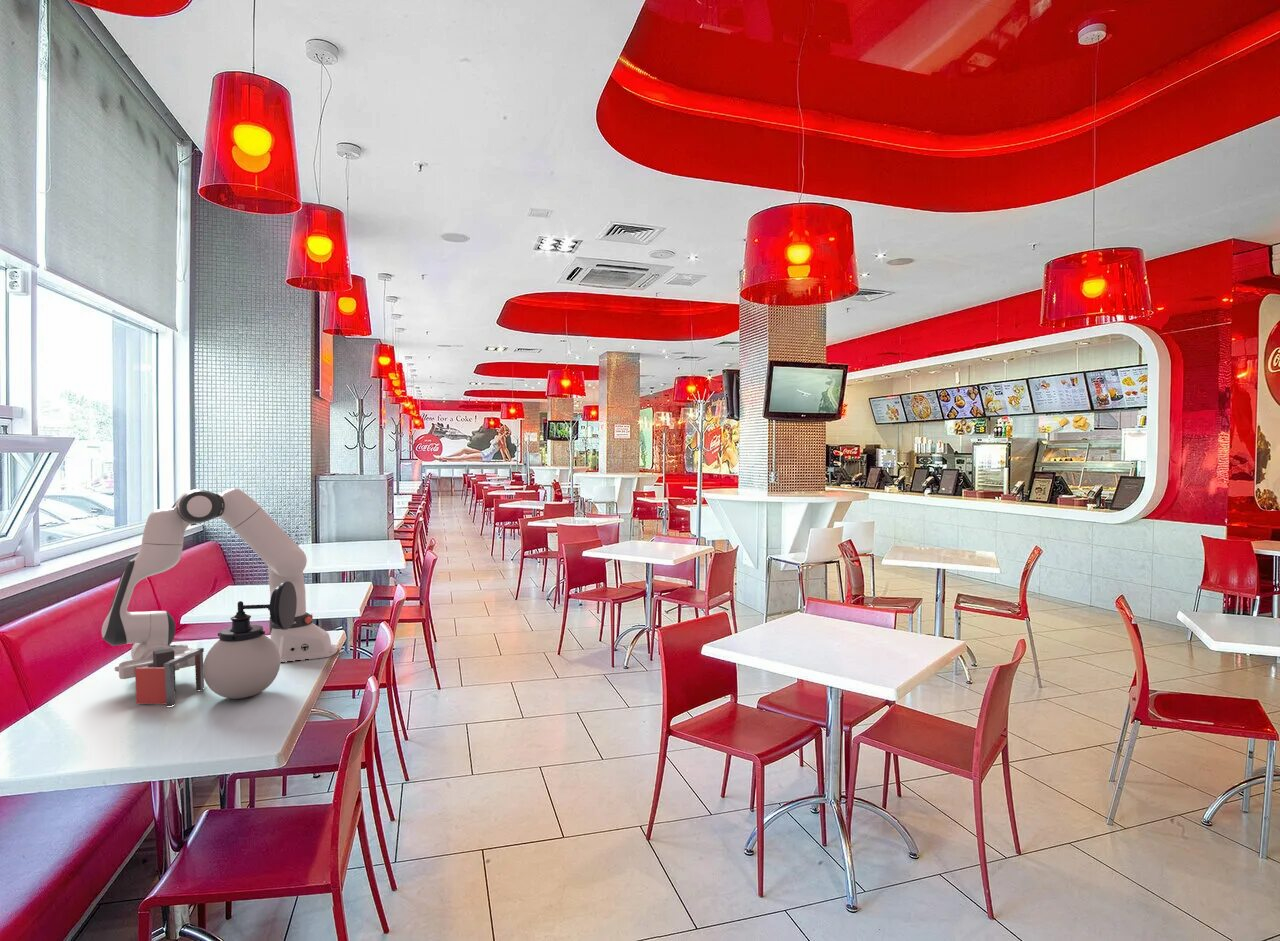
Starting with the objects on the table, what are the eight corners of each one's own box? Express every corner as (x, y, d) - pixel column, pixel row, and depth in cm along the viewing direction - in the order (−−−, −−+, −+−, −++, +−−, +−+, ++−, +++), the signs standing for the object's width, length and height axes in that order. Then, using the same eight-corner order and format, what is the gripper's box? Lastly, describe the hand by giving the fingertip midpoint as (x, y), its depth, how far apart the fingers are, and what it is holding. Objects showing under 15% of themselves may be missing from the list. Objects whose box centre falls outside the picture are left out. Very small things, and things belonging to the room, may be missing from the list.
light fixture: (223, 686, 219) (220, 577, 218) (303, 683, 221) (299, 575, 220) (190, 710, 200) (185, 591, 198) (277, 706, 202) (273, 588, 201)
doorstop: (172, 687, 216) (170, 647, 215) (175, 691, 212) (174, 650, 212) (154, 691, 212) (152, 651, 212) (157, 695, 209) (156, 654, 209)
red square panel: (173, 702, 205) (172, 667, 205) (171, 703, 204) (170, 668, 204) (138, 702, 205) (137, 667, 205) (136, 703, 204) (135, 668, 204)
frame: (170, 707, 202) (168, 663, 201) (165, 707, 202) (163, 663, 201) (205, 689, 217) (203, 647, 217) (200, 689, 217) (198, 647, 217)
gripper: (112, 657, 214) (121, 667, 204) (192, 643, 228) (203, 652, 218) (113, 678, 214) (122, 689, 204) (193, 663, 229) (204, 672, 219)
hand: (164, 669), depth 211 cm, fingers closed on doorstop, 4 cm apart
